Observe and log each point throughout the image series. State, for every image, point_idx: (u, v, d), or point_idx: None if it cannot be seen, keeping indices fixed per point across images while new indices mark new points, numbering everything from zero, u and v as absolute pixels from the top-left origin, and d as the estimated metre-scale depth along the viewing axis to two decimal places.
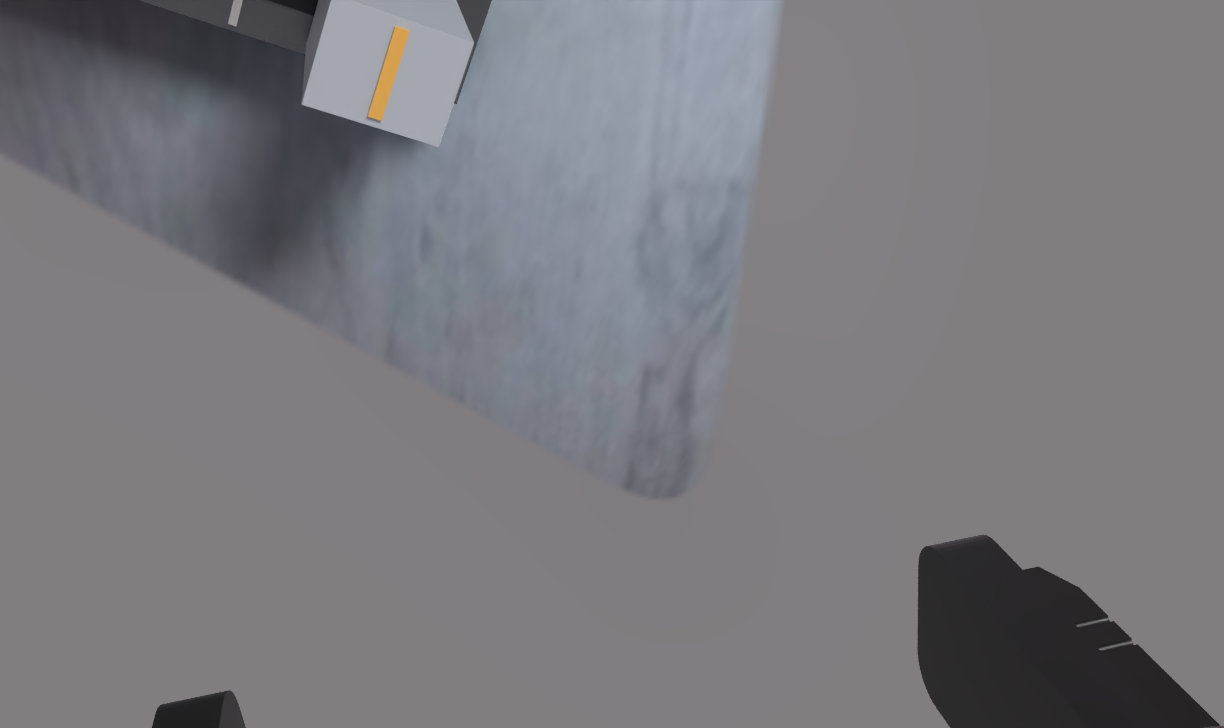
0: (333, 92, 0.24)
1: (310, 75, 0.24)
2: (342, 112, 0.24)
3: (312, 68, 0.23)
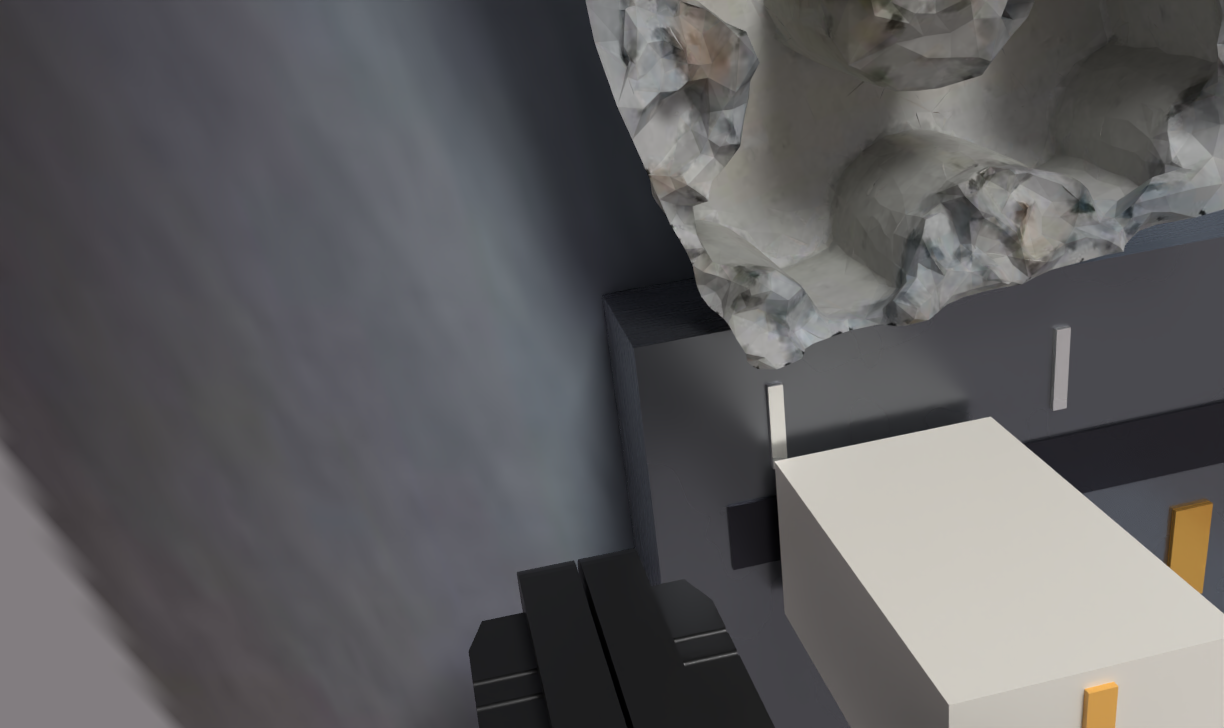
0: None
1: None
2: None
3: None
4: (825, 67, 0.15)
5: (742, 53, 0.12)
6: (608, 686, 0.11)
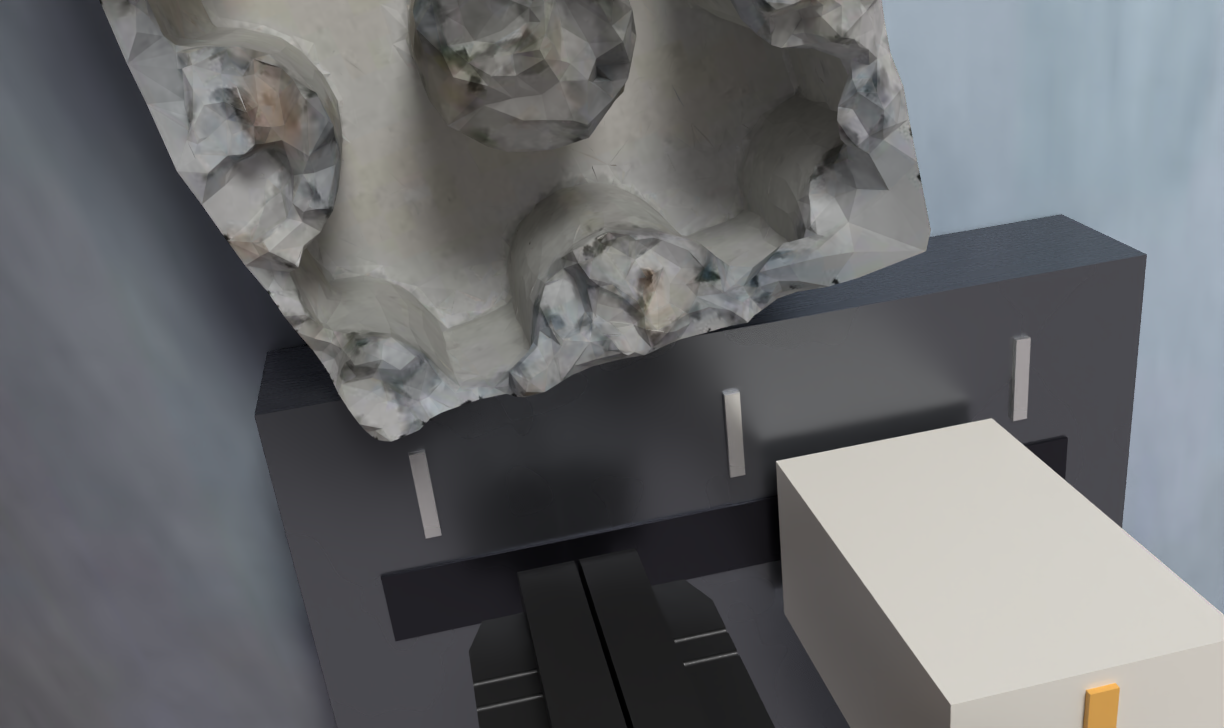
0: None
1: None
2: None
3: None
4: None
5: (312, 115, 0.11)
6: (608, 686, 0.11)
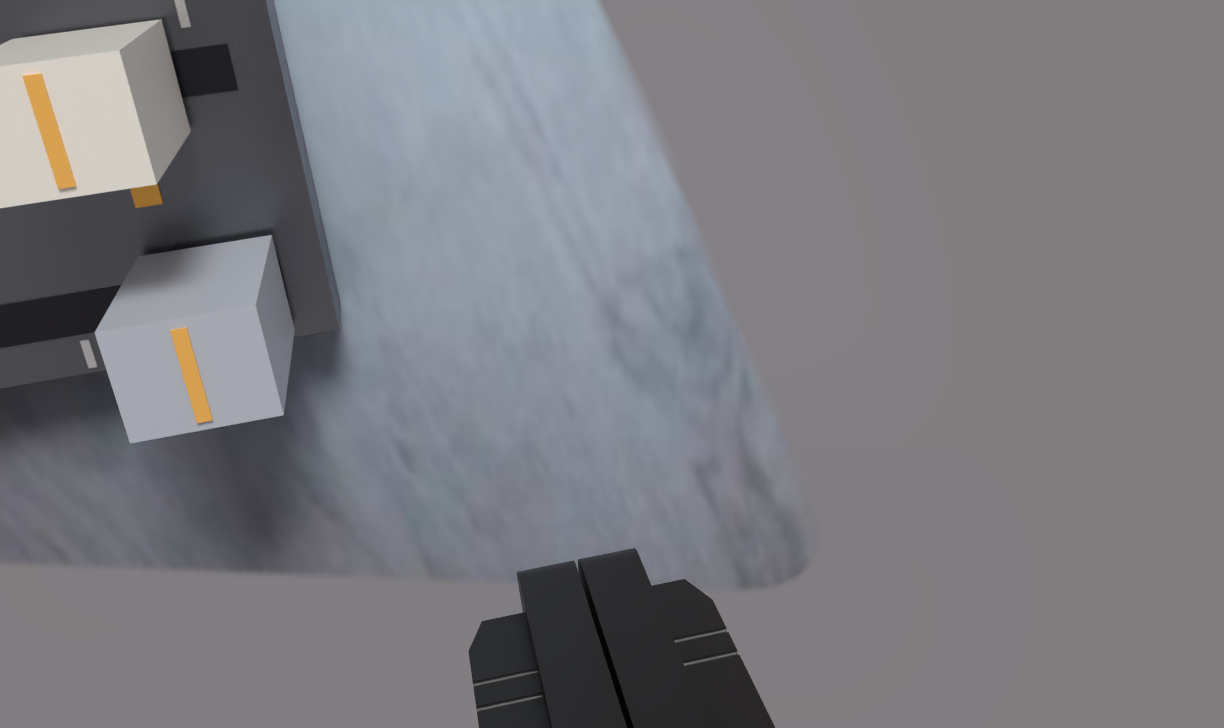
0: (152, 417, 0.22)
1: (122, 413, 0.22)
2: (172, 430, 0.23)
3: (119, 406, 0.22)
4: None
5: None
6: (607, 686, 0.11)
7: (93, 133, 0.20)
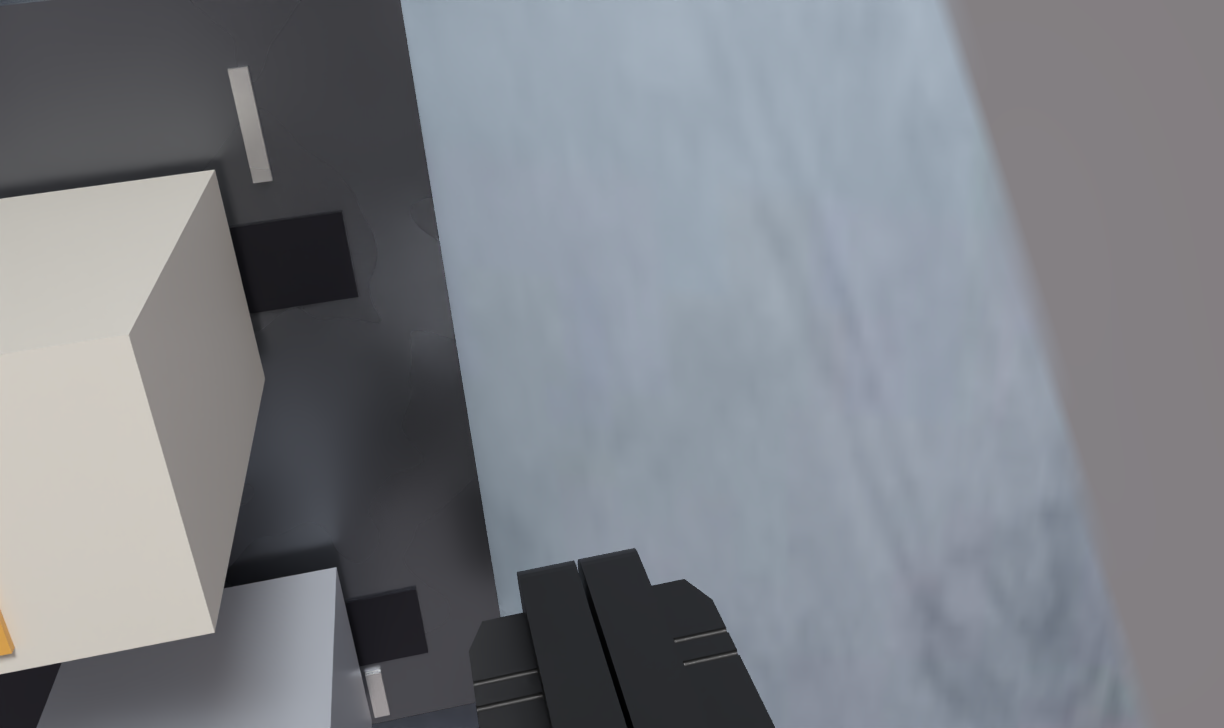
0: None
1: None
2: None
3: None
4: None
5: None
6: (607, 686, 0.11)
7: (59, 531, 0.08)
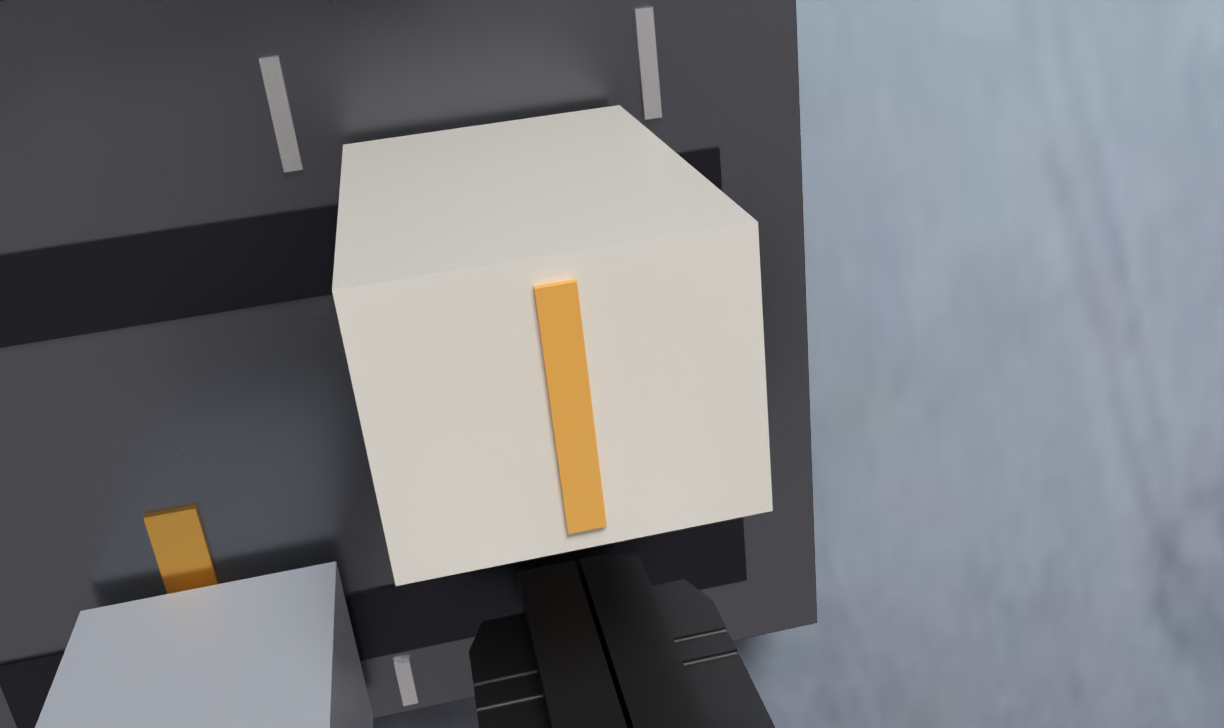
0: None
1: None
2: None
3: None
4: None
5: None
6: (608, 686, 0.11)
7: (664, 410, 0.08)
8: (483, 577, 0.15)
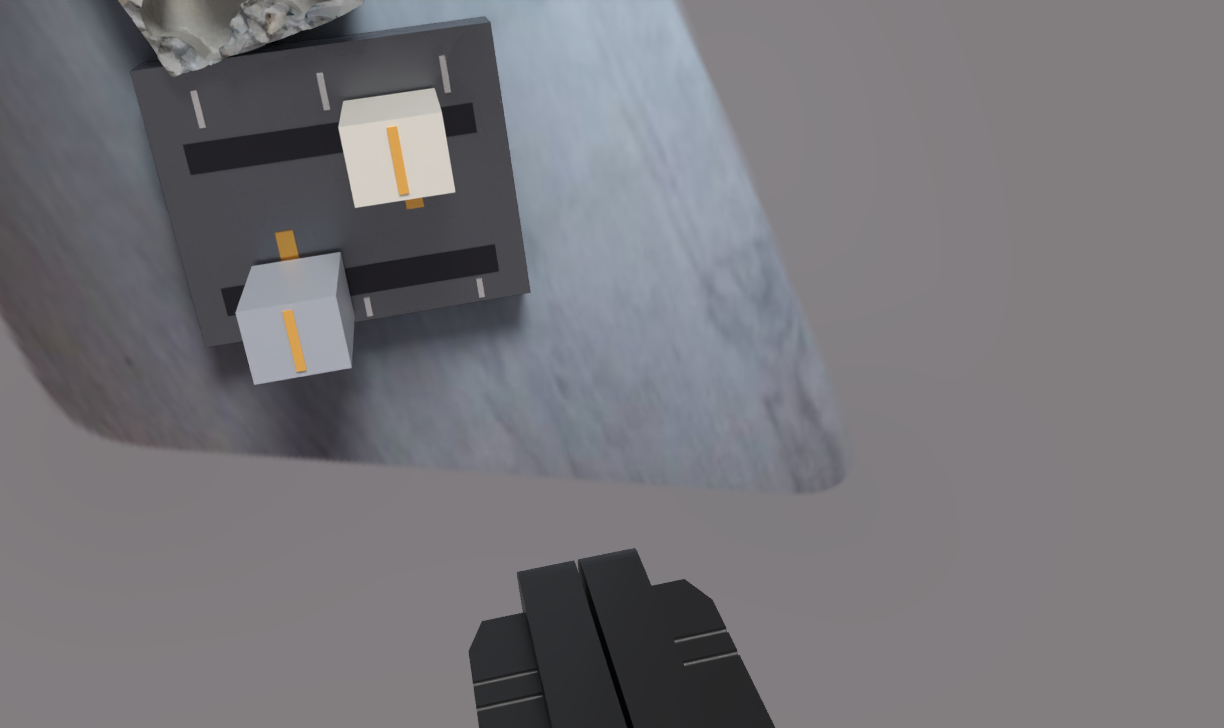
0: (268, 368, 0.35)
1: (250, 365, 0.35)
2: (281, 377, 0.35)
3: (248, 360, 0.35)
4: None
5: None
6: (608, 686, 0.11)
7: (422, 161, 0.33)
8: (396, 264, 0.40)
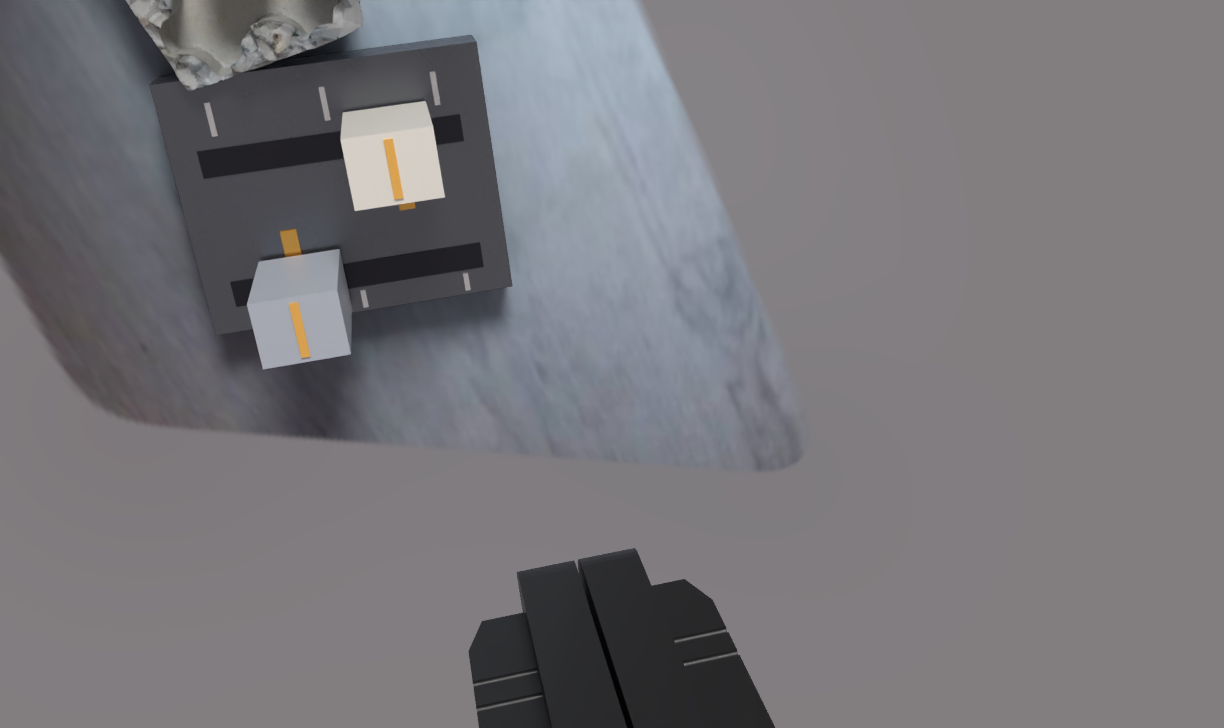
0: (276, 354, 0.39)
1: (259, 351, 0.39)
2: (287, 362, 0.39)
3: (258, 347, 0.39)
4: None
5: None
6: (607, 686, 0.11)
7: (415, 170, 0.37)
8: (390, 260, 0.44)
